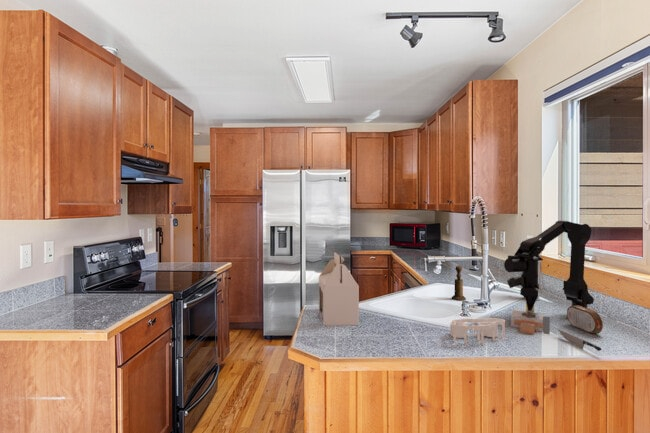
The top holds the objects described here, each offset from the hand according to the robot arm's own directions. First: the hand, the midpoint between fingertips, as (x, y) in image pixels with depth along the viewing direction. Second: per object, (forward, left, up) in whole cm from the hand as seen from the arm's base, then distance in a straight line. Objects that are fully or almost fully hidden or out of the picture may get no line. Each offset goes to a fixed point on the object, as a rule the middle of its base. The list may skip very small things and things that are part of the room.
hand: (530, 309), depth 155 cm
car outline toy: (+39, -14, -5) cm, 42 cm away
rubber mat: (+6, 0, -4) cm, 7 cm away
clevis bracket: (+12, 0, -4) cm, 13 cm away
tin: (+5, +18, -5) cm, 19 cm away
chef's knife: (+27, +15, -5) cm, 31 cm away
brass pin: (0, 0, -4) cm, 4 cm away
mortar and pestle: (-17, -32, -5) cm, 36 cm away
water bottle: (-41, 0, -5) cm, 41 cm away
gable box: (+45, -66, -5) cm, 80 cm away
